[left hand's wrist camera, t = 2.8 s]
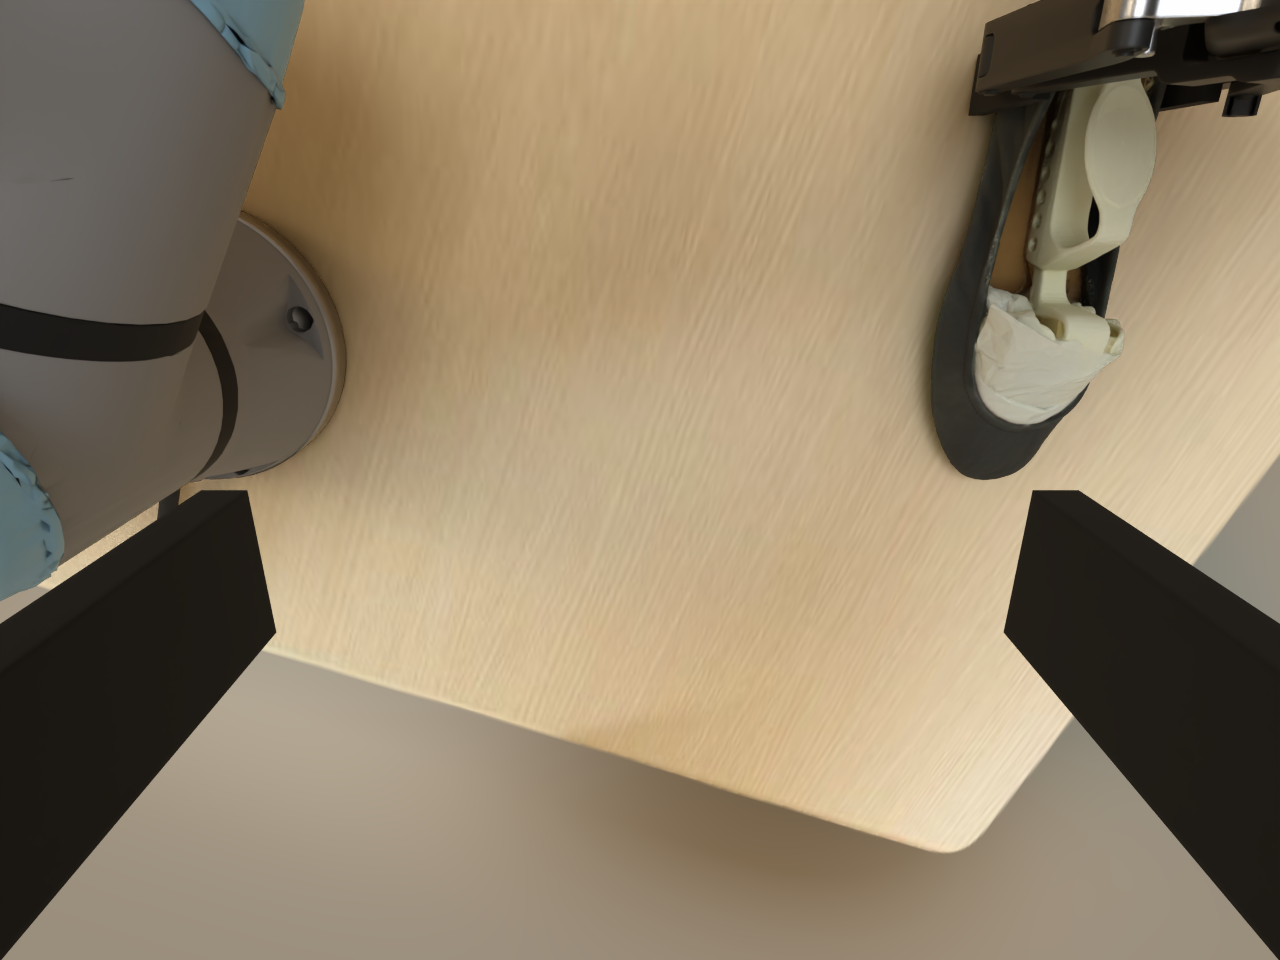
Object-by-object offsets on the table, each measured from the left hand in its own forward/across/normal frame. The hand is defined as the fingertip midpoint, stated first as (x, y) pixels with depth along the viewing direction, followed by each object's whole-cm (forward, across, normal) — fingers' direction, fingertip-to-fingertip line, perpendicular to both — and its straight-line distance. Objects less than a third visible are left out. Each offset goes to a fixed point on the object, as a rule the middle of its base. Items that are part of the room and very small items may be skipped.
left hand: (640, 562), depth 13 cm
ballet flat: (+31, -20, -2) cm, 37 cm away
